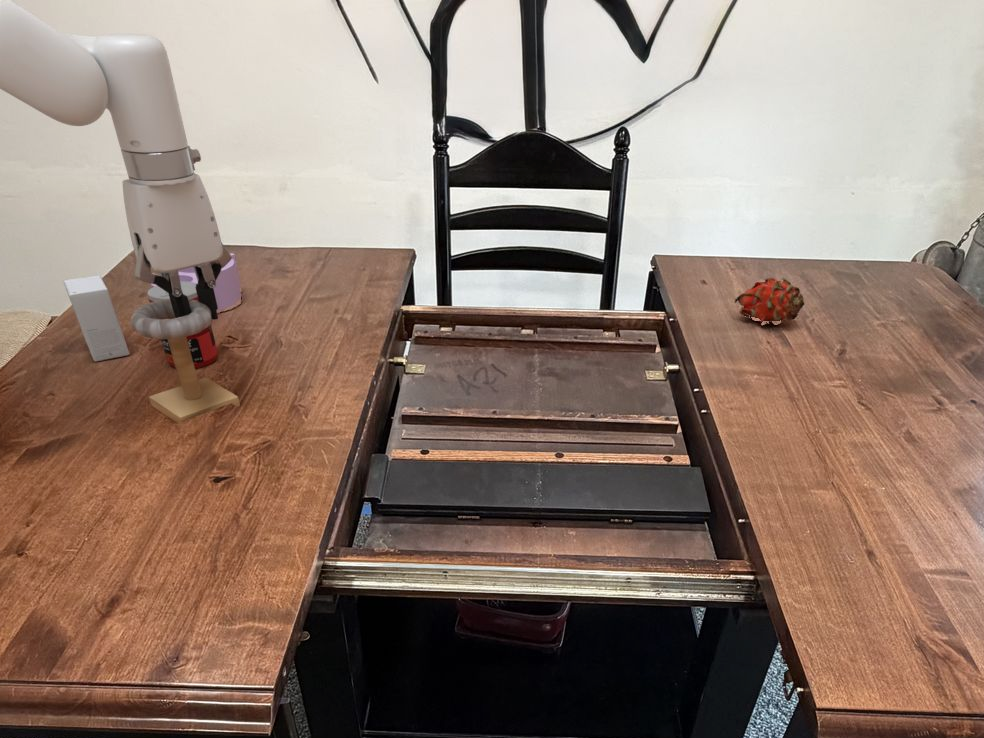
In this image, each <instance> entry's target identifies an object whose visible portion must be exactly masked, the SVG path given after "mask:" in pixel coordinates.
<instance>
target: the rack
mask: <svg viewBox="0 0 984 738" xmlns="http://www.w3.org/2000/svg"><path fill="white" fill-rule="evenodd" d="M168 343H169V346H170V350H171V353H172V356H173V360H174V363H175V367H176V368H175V367H174V368H175V370H176V373H177V377H178V380H179V383H180V385H179V386H176V387H173V388H170V389H167V390H164V391H161V392H158V393H156V394H152V395H149V396H148V399H149V402H150V405H151V407H152V408H154V409H155V410H157V411H158V412H159V413H161V414H163V415H165V416H166V417H167V418H169V419H170V420H171V421H173V422H175V423H176V424H179V423H182V422H184V421H188V420H190V419H191V418H195V417H198V416H201V415H203V414H206V413H208V412H211V411H214V410H218V409H219V408H222V407H226V406H228V405H231V404H232V405H233V406H235V407H237V408H239V407H241V403H240V399H239V396H238V395H236V394H234V393H233V392H231V391H229V390H227V389H226V388H224V387H222V386H221V385H219V384H217V383H215V382H214V381H212V380H210V379H208V377H203V378H201V379H198V375H197V371H196V368H195V367H194V364H193V360H192V356H191V353H190V349H189V345H188V342H187V338H186V337H183V338H175V339H168Z"/></svg>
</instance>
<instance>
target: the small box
mask: <svg viewBox="0 0 984 738" xmlns="http://www.w3.org/2000/svg"><path fill="white" fill-rule="evenodd" d="M62 281H63V282H62V283H63V286H64V287H65V290H66V292H67V295H68V298H69V301H70V303H71V307H72V309H73V311H74V314H75V317H76V319H77V322H78V324H79V327H80V330H81V333H82V336H83V338H84V341H85V343H86V345H87V348H88V350H89V353H90V356H91V357H92V360H93V362H100V361H106V360H111V359H115V358H121V357H126V356H130V355H131V353H130V351H129V348H128V347H129V346H128V344H127V342H126V338H125V336H124V333H123V330H122V326H121V324H120V321H119V318H118V315H117V313H116V310H115V306H114V303H113V300H112V297H111V294H110V292H109V289H108V287H107V285H106V283H105V282H104V280H103V278H102V276H101V275H92V276H91V275H90V276H86V277H85V276H84V277H77V278H70V279H65V280H62Z"/></svg>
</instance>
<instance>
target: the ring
mask: <svg viewBox="0 0 984 738" xmlns="http://www.w3.org/2000/svg"><path fill="white" fill-rule="evenodd" d="M188 301H189V305H190V309H191V312H192V313H190V314H189V315H186V316H182V317H179V318H176V317H175V315H174V312H173V308H172V304H171V301H170V299H164V300H159V301H155V302H151V303H150V302H148V303H144V304H143V305H141V306H139V307H138V308H136V309H134V310H133V312H132V313H131V317H130V326H131V328H132V330H133V331H135V332H136V333H138V334H139V335H141V336H143V337H145V338H149V339H156V340H161V339H175V338H183V337H187V336H190V335H194V334H197V333H199V332H201V331H202V330H204V329H205V328H207V327H208V326H209V325H210V324H211V323H212V319H211V311H210V309H209V308H208V307H207V306H206V305H204V304H202V303H200V302H198V301H196V300H190V299H188ZM168 318H173V319H168ZM211 325H212V324H211Z"/></svg>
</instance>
